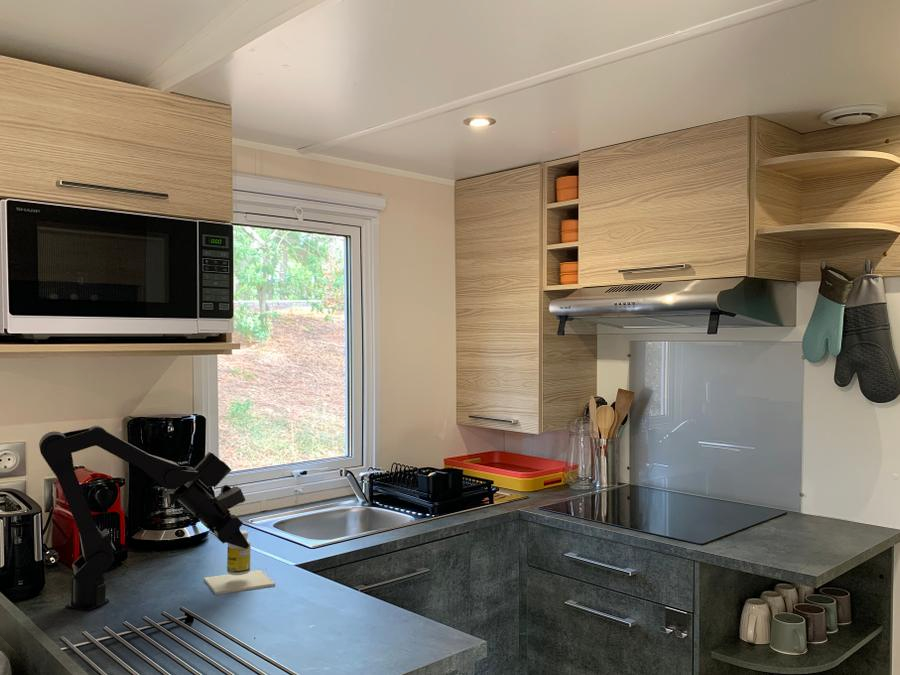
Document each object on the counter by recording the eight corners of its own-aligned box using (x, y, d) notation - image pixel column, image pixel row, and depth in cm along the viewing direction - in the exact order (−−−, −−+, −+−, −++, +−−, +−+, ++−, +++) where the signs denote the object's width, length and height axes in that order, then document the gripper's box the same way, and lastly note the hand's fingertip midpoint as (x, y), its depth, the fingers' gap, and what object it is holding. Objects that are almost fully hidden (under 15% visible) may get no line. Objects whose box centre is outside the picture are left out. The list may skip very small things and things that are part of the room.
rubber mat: (215, 594, 175) (215, 592, 175) (204, 580, 186) (204, 577, 186) (275, 585, 182) (275, 583, 182) (260, 572, 193) (260, 569, 193)
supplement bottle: (222, 571, 184) (223, 531, 184) (243, 568, 188) (244, 528, 188) (233, 577, 180) (234, 535, 180) (254, 573, 184) (255, 532, 184)
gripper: (234, 483, 174) (280, 526, 180) (215, 470, 190) (257, 511, 196) (198, 520, 170) (245, 564, 176) (181, 504, 186) (226, 545, 192)
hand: (244, 544), depth 185 cm, fingers closed on supplement bottle, 5 cm apart
